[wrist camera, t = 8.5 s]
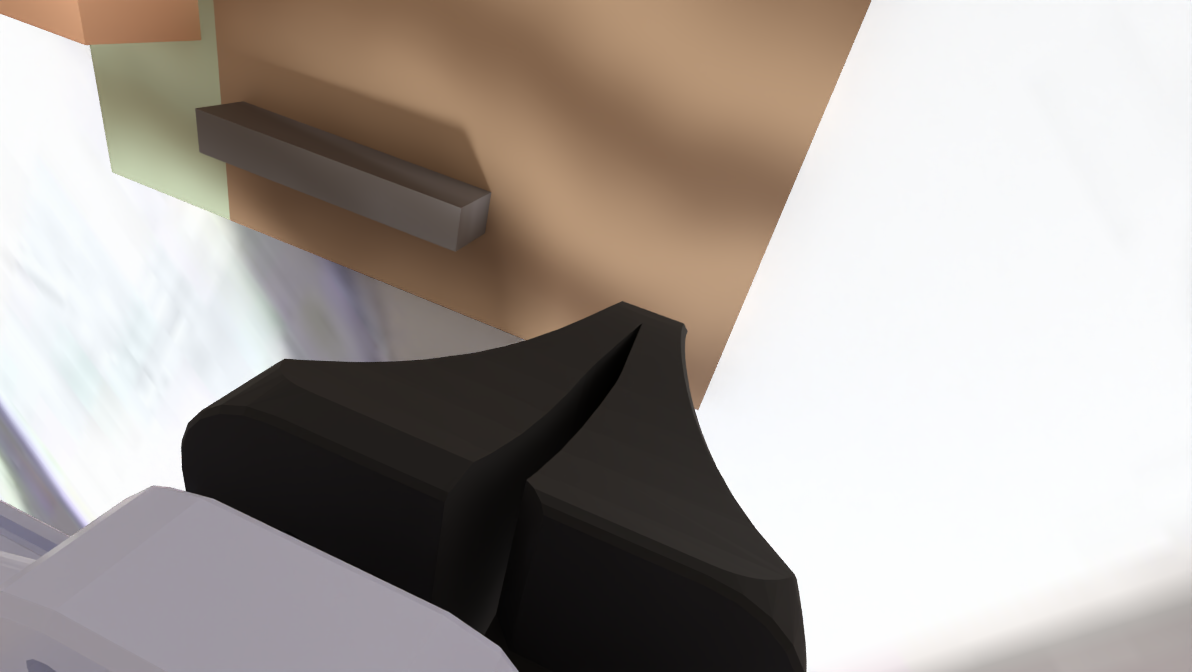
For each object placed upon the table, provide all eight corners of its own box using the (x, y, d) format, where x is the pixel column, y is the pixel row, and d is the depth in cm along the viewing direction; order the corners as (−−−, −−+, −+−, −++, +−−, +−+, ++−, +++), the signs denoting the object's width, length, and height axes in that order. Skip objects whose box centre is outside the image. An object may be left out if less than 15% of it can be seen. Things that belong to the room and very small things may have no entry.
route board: (703, 395, 23) (687, 443, 20) (134, 167, 27) (62, 183, 24) (976, -253, 13) (1010, -317, 11) (39, -449, 17) (-95, -527, 15)
